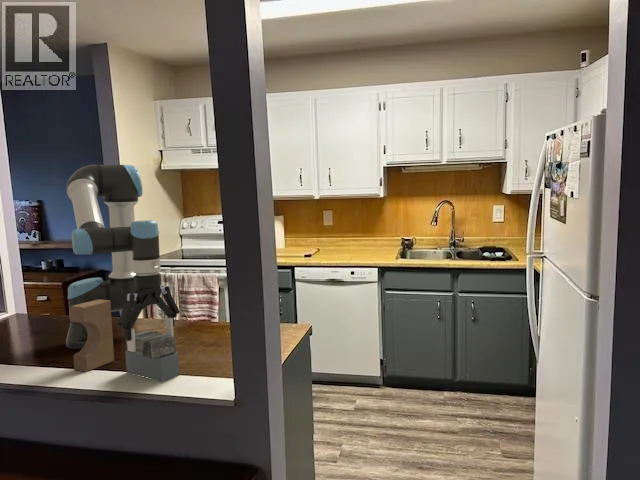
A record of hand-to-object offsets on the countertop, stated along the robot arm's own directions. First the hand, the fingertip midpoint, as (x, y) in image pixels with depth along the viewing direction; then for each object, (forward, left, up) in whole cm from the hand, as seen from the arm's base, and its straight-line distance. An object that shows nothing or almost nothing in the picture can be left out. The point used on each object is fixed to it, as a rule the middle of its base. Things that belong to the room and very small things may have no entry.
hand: (151, 344), depth 144 cm
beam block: (0, 0, -9) cm, 9 cm away
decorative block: (-23, -4, -9) cm, 25 cm away
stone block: (0, 0, -2) cm, 2 cm away
